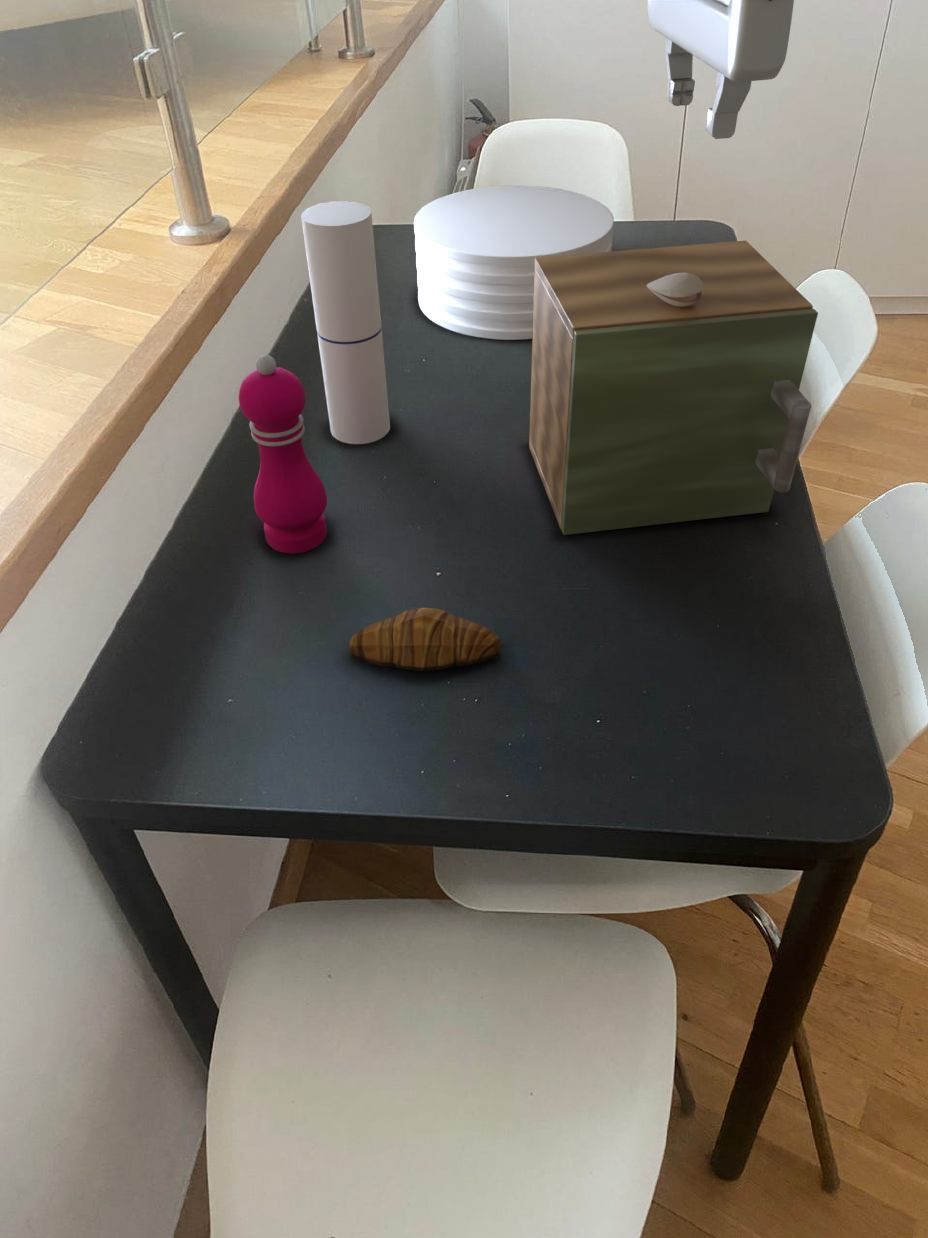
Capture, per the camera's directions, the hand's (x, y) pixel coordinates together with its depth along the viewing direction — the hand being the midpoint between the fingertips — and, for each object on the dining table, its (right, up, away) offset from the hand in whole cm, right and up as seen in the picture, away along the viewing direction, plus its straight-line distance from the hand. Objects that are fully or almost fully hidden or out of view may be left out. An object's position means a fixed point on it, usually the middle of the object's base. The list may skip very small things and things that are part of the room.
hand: (697, 118), depth 73 cm
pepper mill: (-36, -31, +22) cm, 52 cm away
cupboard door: (+3, -31, +21) cm, 38 cm away
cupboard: (+1, -24, +29) cm, 37 cm away
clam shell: (0, -11, +10) cm, 15 cm away
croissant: (-22, -43, +9) cm, 49 cm away
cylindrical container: (-31, -17, +38) cm, 52 cm away
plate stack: (-11, +8, +64) cm, 66 cm away
